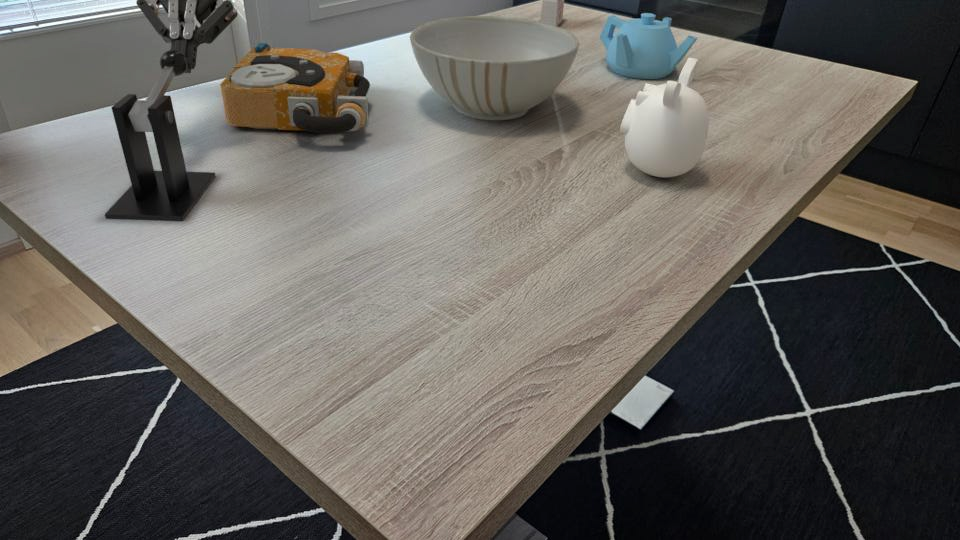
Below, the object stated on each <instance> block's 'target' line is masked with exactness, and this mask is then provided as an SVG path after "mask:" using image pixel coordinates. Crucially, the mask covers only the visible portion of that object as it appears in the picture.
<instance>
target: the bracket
mask: <svg viewBox="0 0 960 540" xmlns="http://www.w3.org/2000/svg"><path fill="white" fill-rule="evenodd" d="M136 100H138V97H137V94H134V93H128V94H126V95H125V96H123V97H122V98H121V99H120V100H119V101H117V102H116V103H115V104H113V105H112V106H111V111H112V115H113V120H114V123H115V126H116V127H115V128H116V131H117V134H118V138H119V143H120V146H121V149H122V153H123V157H124V161H125V165H126V169H127V172H128V176H129V181H130V184H131V185H130V186H129V187H128V189H126V191H125V192H124V193H123V194H122V195H121V196H120V197H119V198H118V199H117V200H116V201H115V202H114V204H113V205H112V206H111V207H110V208H109V209H108V210H107V211H106V212H105V213H104V217H105V219H106V220H131V221H133V220H134V221H161V222H163V221H164V222H184V221H185V220H186V218H187V217H188V215H190V213H191V212H192V210H193V209H194V207H195V206H196V205H197V203H198V202H199V200H200V199H201V198H202V197H203V195H204V194H205V192H206V191H207V189H208V188H209V187H210V185H211V184H212V183H213V181H214V180H215V178H216V172H207V171H187V167H186V162H185V157H184V153H183V148H182V143H181V139H180V135H179V130H178V125H177V121H176V116H175V111H174V106H173V101H172V96H171V95H165V94H164V95H162V96H161V97H160V98H159V99H158V100H157V101H155V102H154V103H153V104H152V105H151V106H150V107H149V108H148V113H149V117H150V122H151V126H152V130H153V132H152V135H153V139H154V144H155V147H156V152H157V156H158V161H159V165H160V169H161V170H155V168H154V164H153V159H152V156H151V152H150V147H149V143H148V139H147V134H146V132H136V131H135V130H134V128H133V125H132V123H131V120H130V118H129V116H128V114H129V112H130V110H131V109H132V107H133V105H134V103H135V102H136Z"/></svg>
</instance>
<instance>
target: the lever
mask: <svg viewBox="0 0 960 540" xmlns="http://www.w3.org/2000/svg"><path fill="white" fill-rule="evenodd" d="M159 65H160V68H161V70H162V71H161V72H160V74H159V76H158V78H157V80H156V81H155V82H154V85H153V87H152V89H151V90H150V92H149V94H148V96H147V98H146V100H141V99H137V100H136V102H135V103H134V105H133V107H132V109H131V110H130V112H129V114H128V116H129V118H130V120H131V123H132V125H133V128H134V130H135V131H136V132H145V133H153V130H152V126H151V122H150V117H149V113H148V108H149V107H150V106H151V105H152V104H153V103H154V102H155V101H157V100H158V99H159V98H160V97H161V96H162V95H165V94H166V92H167V91H168V90H169V87H170V85H171V83H172V81H173V79H174V78H175V77H181V76H182V75H184V74H186V73H185V71H186V70H187V60H186V58H185V56H184V55H183V54H182V53H180V52H178V51H175V50H171V49H169V50H166V51H165V52H163V53H162V54H161V56H160V59H159Z"/></svg>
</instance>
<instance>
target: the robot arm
mask: <svg viewBox="0 0 960 540" xmlns="http://www.w3.org/2000/svg"><path fill="white" fill-rule="evenodd" d="M136 5H137V7H138V8H139V10H140V11H141V12H142V13H143V15H144V16H145V18H146V19H147V20H148V22H149V23H150V24H151V26H152V27H153V29H154V30H155V31H156V33H157V34H158V35H159V36H160V37H161V39H163V41H164V42H165V43H167V44H170V50H175V51H178V52H180V53H182V54H183V55H184V56H185V58H186V60H187V70H186V71H185V73H184V74H191V73H192V70H195V68H196V65H197V56H198V55H197V54H198V48H199V46H201V45H202V44H208V45H210V44H212V43H213V42H214V41H216V39H217V38H218V37H219V36H220V35H221V34H222V33H223V32H224V31H225V30H226V29H227V27H229V25H230V24H231V23H232V22H233V21H235V19H236V18H237V17H238V11H237V9H236V8H235V6H234V5H233V3H232V2H231V1H230V0H136ZM160 6H162V8H163V9H164V11H165V12H166V14H167V15H168V17H167V18H168V21H169V28H168V27H166V25H165V24H164V22H163V21H162V20H161V18H160V17H159V16H160V15H161V8H160Z"/></svg>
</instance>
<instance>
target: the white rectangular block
mask: <svg viewBox="0 0 960 540" xmlns="http://www.w3.org/2000/svg"><path fill="white" fill-rule="evenodd" d="M564 8H565V0H542V1H541V15H540V22H543V23H547V24H551V25H554V26H557V27H560V25H561V24H562V23H563V18H564Z"/></svg>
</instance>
